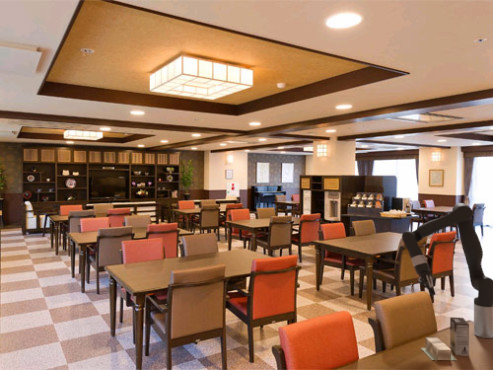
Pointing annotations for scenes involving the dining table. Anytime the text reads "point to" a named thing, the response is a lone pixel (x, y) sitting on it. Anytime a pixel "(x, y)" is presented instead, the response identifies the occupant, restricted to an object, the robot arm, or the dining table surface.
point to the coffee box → (459, 336)
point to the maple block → (438, 348)
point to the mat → (434, 356)
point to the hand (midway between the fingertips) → (433, 295)
